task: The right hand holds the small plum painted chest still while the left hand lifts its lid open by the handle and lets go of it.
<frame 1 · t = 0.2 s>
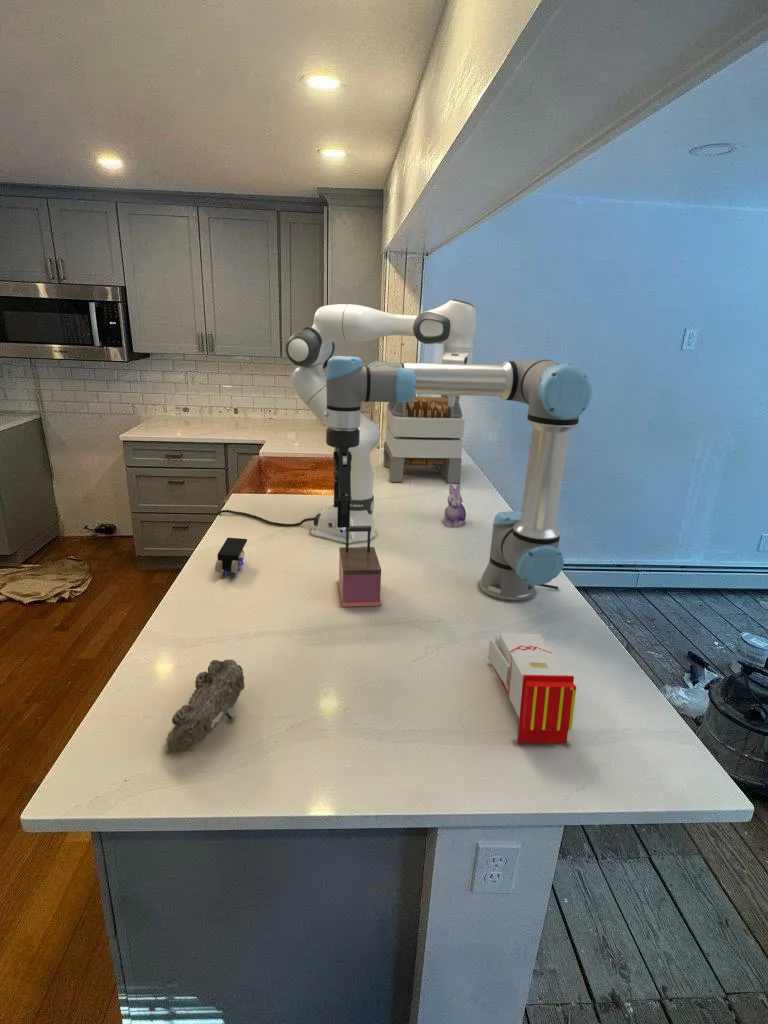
left hand: (453, 404, 174), 48 cm above the counter, tool pointing down, fingers open, 8 cm apart
right hand: (341, 516, 134), 28 cm above the counter, tool pointing down, fingers open, 13 cm apart
transformer: (419, 473, 275), on the counter
chest: (358, 593, 157), on the counter
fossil: (212, 717, 108), on the counter
toy: (522, 696, 118), on the counter
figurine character: (232, 569, 168), on the counter
figurine: (454, 523, 212), on the counter
lid: (359, 547, 153), point 14 cm above the counter, hinge at 0.0°
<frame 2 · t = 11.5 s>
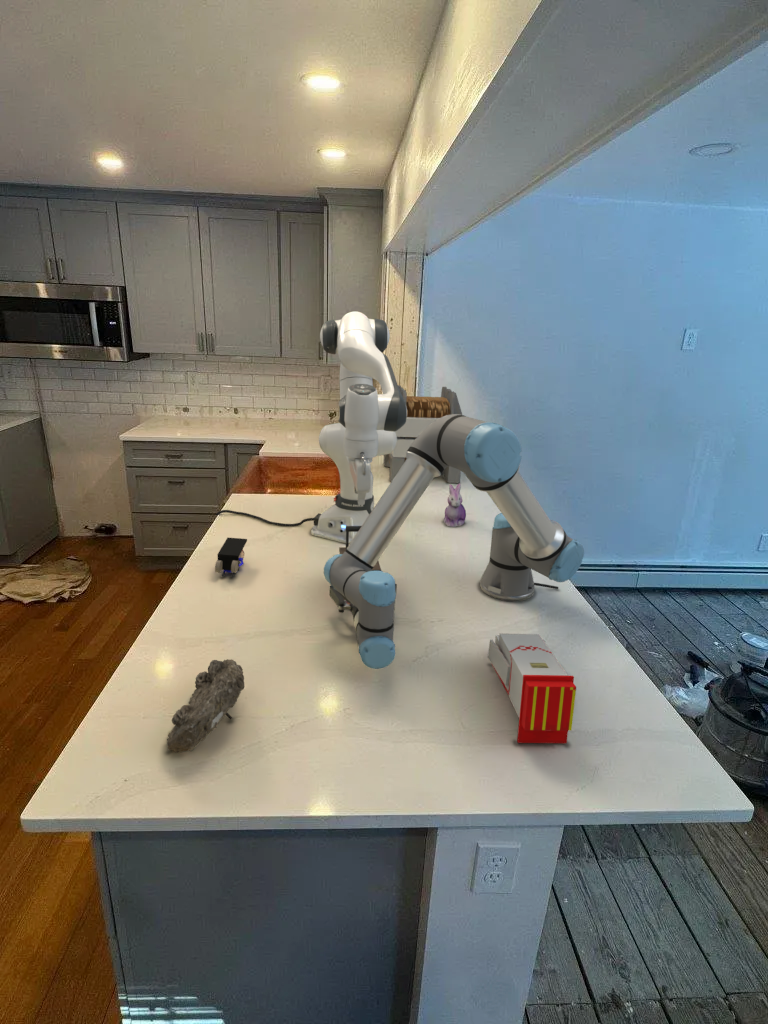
left hand: (359, 498, 153), 26 cm above the counter, tool pointing down, fingers open, 8 cm apart
right hand: (360, 576, 152), 7 cm above the counter, tool horizontal, fingers closed on chest, 10 cm apart
chest: (358, 593, 157), on the counter, touching right hand
everything else where it was.
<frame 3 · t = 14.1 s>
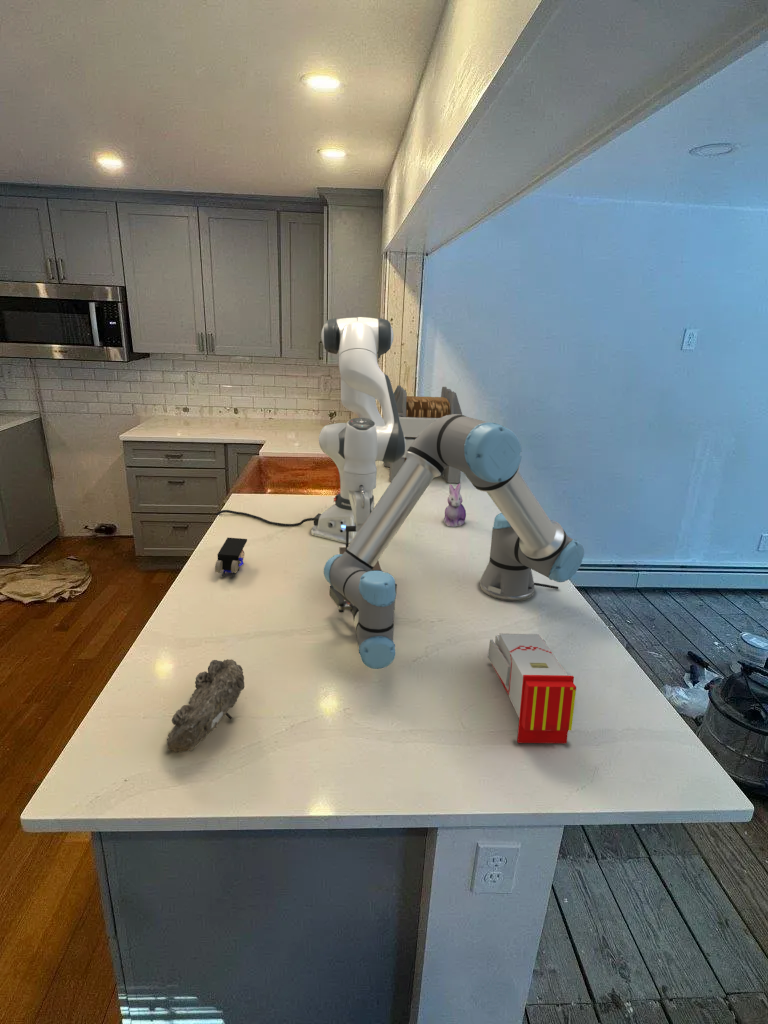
left hand: (358, 528, 156), 17 cm above the counter, tool pointing down, fingers closed on lid, 2 cm apart
right hand: (360, 576, 152), 7 cm above the counter, tool horizontal, fingers closed on chest, 10 cm apart
chest: (358, 593, 157), on the counter, touching right hand
lid: (359, 547, 153), point 14 cm above the counter, hinge at 0.1°, touching left hand
everything else where it was.
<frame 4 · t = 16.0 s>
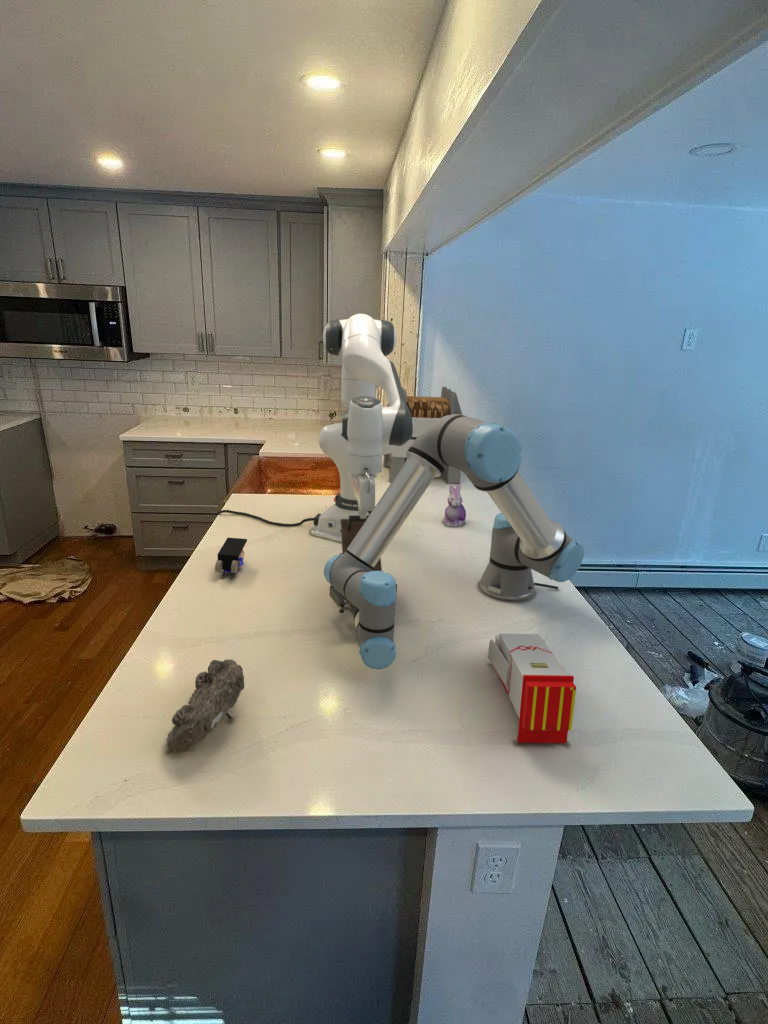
left hand: (362, 516, 145), 24 cm above the counter, tool pointing down, fingers closed, pressing on lid
right hand: (360, 576, 152), 7 cm above the counter, tool horizontal, fingers closed on chest, 10 cm apart
chest: (358, 593, 157), on the counter, touching right hand
lid: (362, 540, 147), point 18 cm above the counter, hinge at 45.3°, touching left hand
everything else where it was.
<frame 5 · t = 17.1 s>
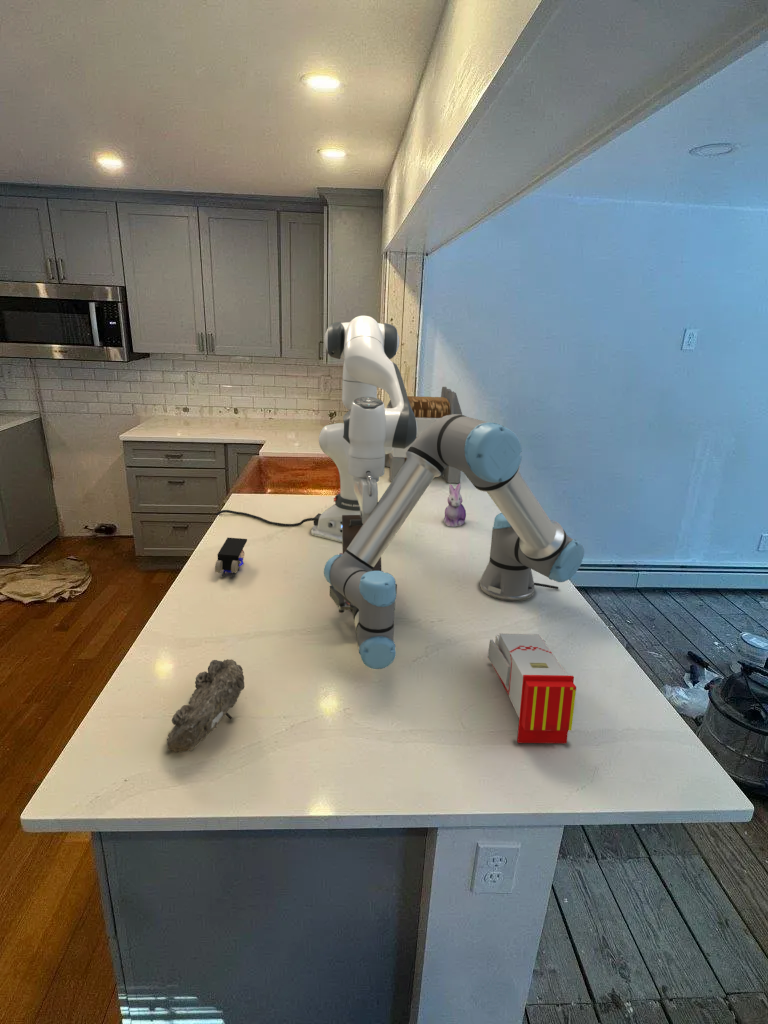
left hand: (364, 520, 141), 25 cm above the counter, tool pointing down, fingers closed
right hand: (360, 576, 152), 7 cm above the counter, tool horizontal, fingers closed on chest, 10 cm apart
chest: (358, 593, 157), on the counter, touching right hand
lid: (363, 542, 145), point 18 cm above the counter, hinge at 61.7°, touching left hand
everything else where it was.
when the right hand's fingers open (7 cm above the counter, at t = 21.0 s): chest stays where it is, on the counter.
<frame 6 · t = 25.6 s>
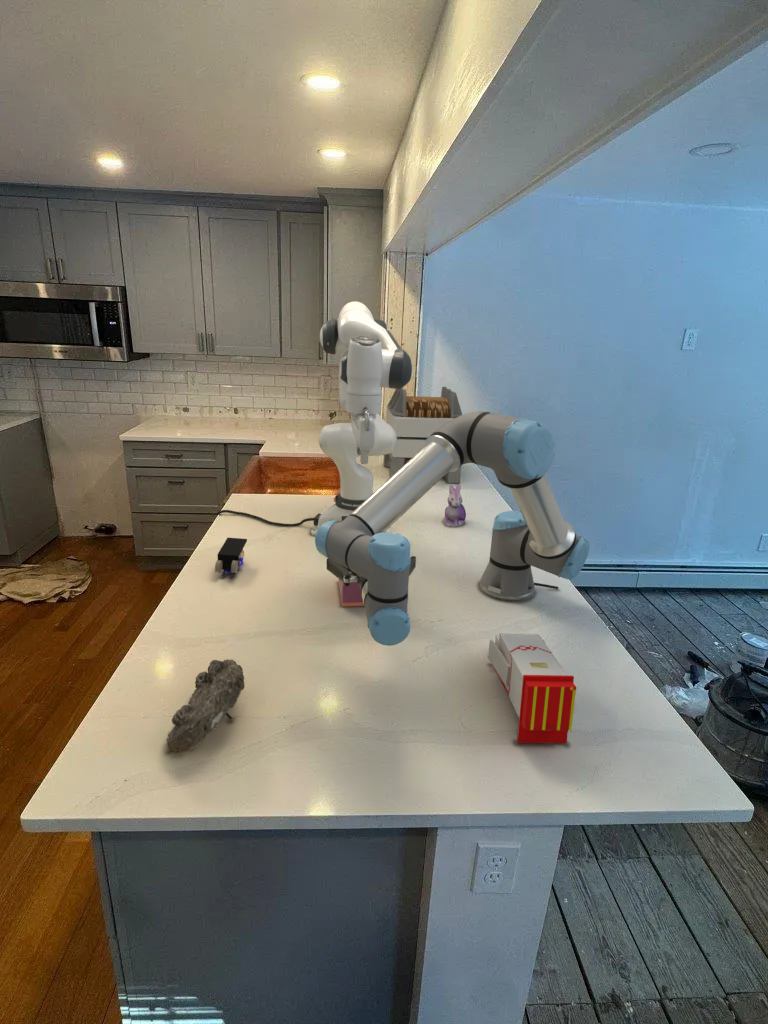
left hand: (362, 458, 146), 38 cm above the counter, tool pointing down, fingers open, 8 cm apart
right hand: (367, 548, 135), 21 cm above the counter, tool horizontal, fingers open, 13 cm apart
chest: (358, 593, 157), on the counter
lid: (362, 540, 146), point 18 cm above the counter, hinge at 54.9°
everything else where it was.
at the end: lid at +55° (first picture: +0°); the left hand is holding nothing; the right hand is holding nothing; chest tilted 0°; chest never tilted more than 1° during the clip; chest moved 0.0 cm from its start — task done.
